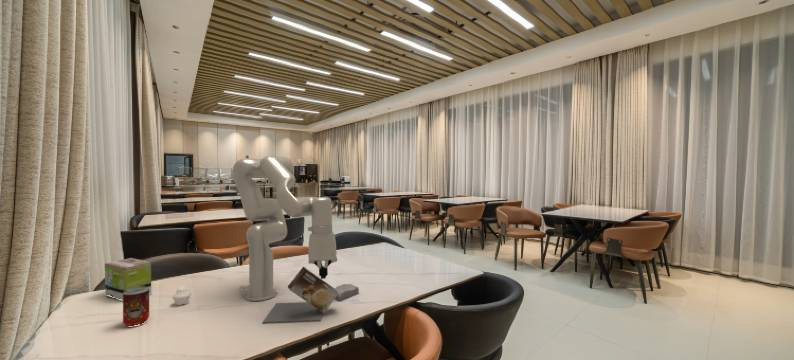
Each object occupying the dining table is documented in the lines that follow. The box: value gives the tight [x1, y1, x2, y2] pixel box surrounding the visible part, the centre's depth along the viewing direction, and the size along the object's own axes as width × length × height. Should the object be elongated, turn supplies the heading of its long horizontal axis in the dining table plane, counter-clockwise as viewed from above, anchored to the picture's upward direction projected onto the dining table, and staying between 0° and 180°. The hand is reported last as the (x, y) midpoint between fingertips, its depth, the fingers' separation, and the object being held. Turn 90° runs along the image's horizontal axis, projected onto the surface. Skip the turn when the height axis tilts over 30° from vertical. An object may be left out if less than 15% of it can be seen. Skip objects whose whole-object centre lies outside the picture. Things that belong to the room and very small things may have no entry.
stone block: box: [334, 283, 360, 302], centre depth 134 cm, size 12×5×10 cm
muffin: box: [172, 286, 192, 306], centre depth 124 cm, size 6×6×7 cm
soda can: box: [122, 286, 150, 327], centre depth 108 cm, size 7×7×12 cm
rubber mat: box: [262, 301, 324, 324], centre depth 117 cm, size 20×16×1 cm
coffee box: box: [287, 266, 339, 314], centre depth 115 cm, size 9×6×16 cm
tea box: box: [104, 257, 152, 300], centre depth 132 cm, size 15×10×15 cm, turn 68°
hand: (323, 277), depth 117 cm, fingers closed
